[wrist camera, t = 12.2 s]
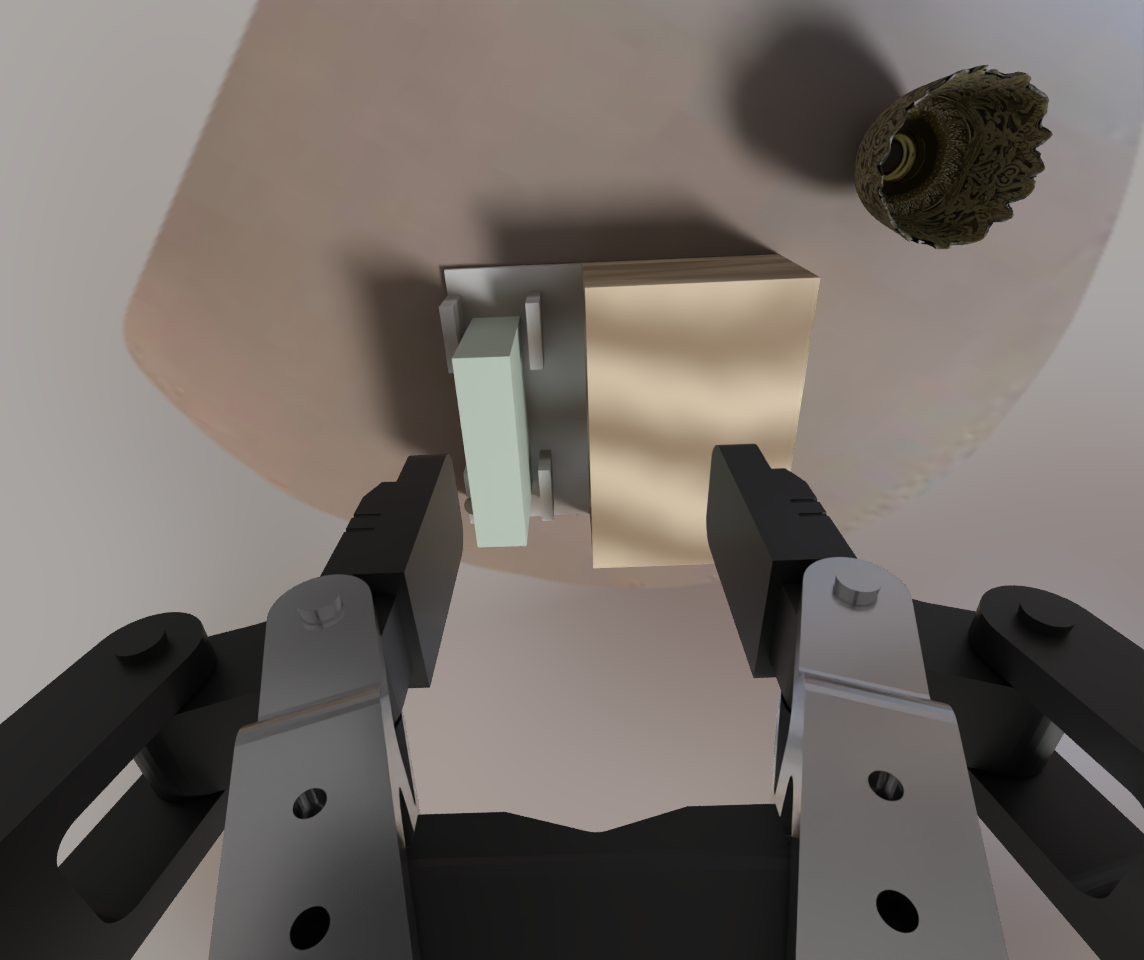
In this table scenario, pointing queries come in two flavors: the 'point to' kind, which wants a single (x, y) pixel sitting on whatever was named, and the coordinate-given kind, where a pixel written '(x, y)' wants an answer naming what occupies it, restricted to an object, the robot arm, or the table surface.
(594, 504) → the cabinet
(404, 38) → the table surface
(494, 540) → the door
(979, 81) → the cup
